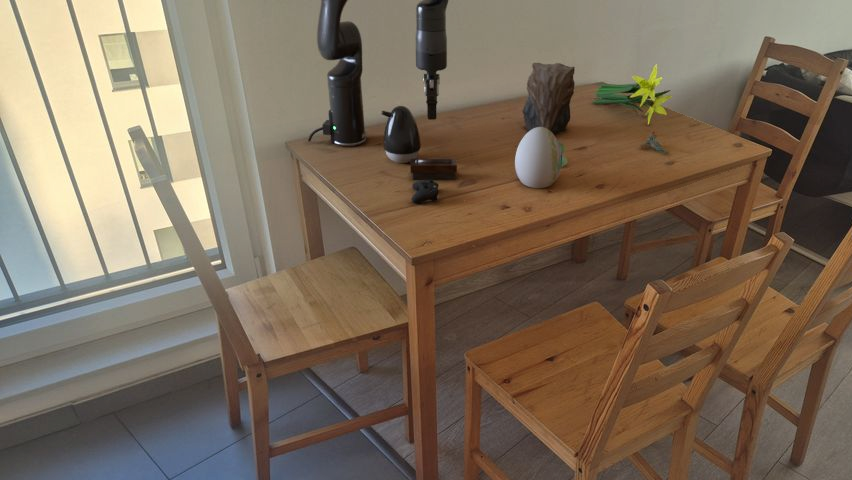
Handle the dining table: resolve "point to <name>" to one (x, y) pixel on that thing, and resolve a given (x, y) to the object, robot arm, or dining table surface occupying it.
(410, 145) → the pump dispenser
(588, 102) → the dining table surface
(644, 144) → the dragon figurine
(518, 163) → the decorative egg
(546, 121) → the owl
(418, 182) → the game controller
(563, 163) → the seedling
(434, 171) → the scrub brush
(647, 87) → the daffodil flowers
